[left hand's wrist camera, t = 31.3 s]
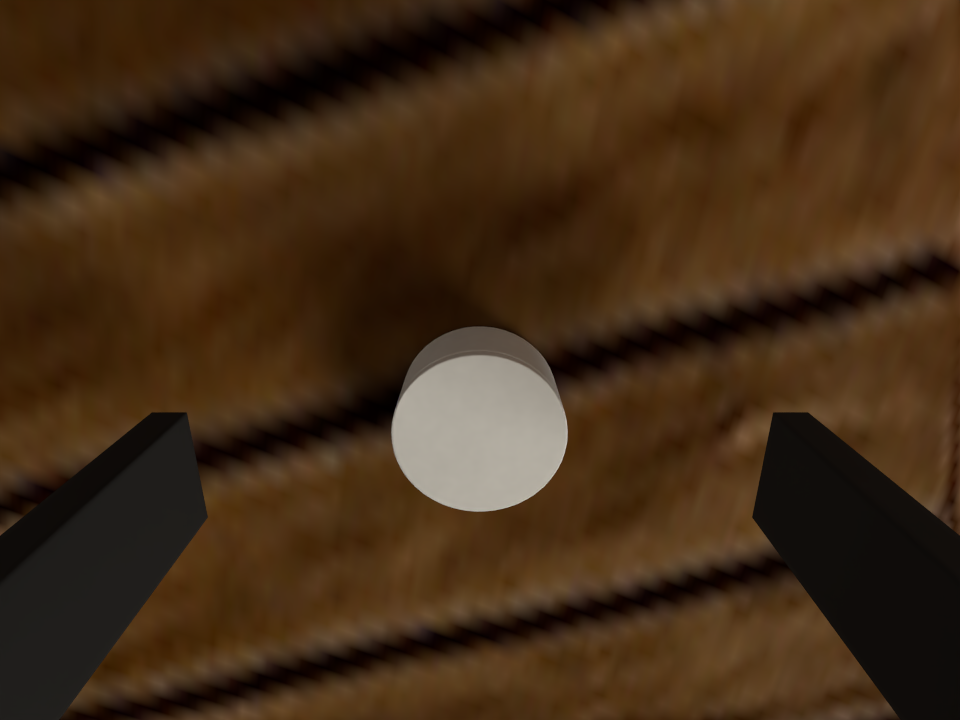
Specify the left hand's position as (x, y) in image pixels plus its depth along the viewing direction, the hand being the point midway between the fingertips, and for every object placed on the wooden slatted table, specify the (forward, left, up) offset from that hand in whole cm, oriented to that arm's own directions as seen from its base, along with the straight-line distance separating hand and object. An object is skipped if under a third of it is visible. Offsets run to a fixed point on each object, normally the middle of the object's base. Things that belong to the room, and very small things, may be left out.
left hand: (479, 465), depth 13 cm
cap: (0, 0, -2) cm, 2 cm away
